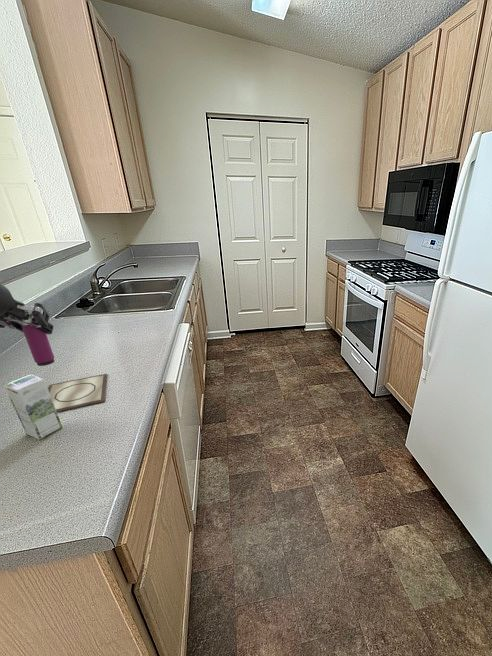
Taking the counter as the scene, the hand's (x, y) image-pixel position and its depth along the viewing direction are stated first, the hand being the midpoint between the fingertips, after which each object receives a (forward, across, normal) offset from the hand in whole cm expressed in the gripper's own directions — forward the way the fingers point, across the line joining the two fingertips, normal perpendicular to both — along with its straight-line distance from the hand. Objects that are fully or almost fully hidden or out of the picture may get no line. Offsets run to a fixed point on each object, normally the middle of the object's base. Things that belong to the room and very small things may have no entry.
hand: (41, 330), depth 73 cm
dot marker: (+3, 0, +6) cm, 7 cm away
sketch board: (+30, +10, +7) cm, 32 cm away
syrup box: (+17, +7, +20) cm, 27 cm away
